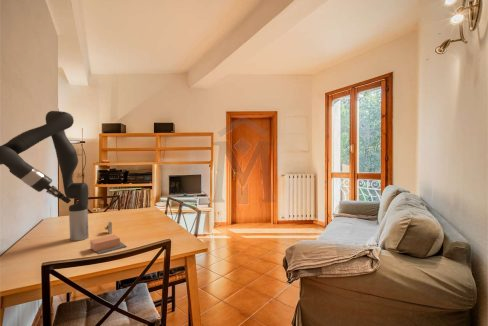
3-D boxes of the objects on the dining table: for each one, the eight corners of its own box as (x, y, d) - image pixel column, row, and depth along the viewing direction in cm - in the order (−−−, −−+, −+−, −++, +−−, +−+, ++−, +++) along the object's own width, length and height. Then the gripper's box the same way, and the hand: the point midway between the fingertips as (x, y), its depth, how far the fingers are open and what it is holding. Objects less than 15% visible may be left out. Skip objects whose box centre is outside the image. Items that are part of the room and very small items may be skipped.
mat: (91, 246, 132) (91, 245, 132) (117, 240, 142) (117, 239, 142) (99, 254, 122) (99, 253, 122) (126, 246, 131) (126, 246, 131)
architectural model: (106, 235, 153) (105, 223, 152) (104, 232, 158) (103, 221, 158) (112, 234, 155) (111, 222, 155) (110, 231, 160) (109, 220, 160)
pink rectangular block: (90, 240, 129) (114, 234, 138) (90, 247, 129) (115, 241, 138) (94, 243, 123) (119, 238, 132) (94, 251, 124) (119, 245, 132)
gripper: (45, 174, 112) (78, 197, 121) (42, 173, 122) (72, 194, 131) (30, 187, 109) (65, 209, 118) (28, 184, 118) (60, 206, 127)
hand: (69, 201), depth 124 cm, fingers closed
